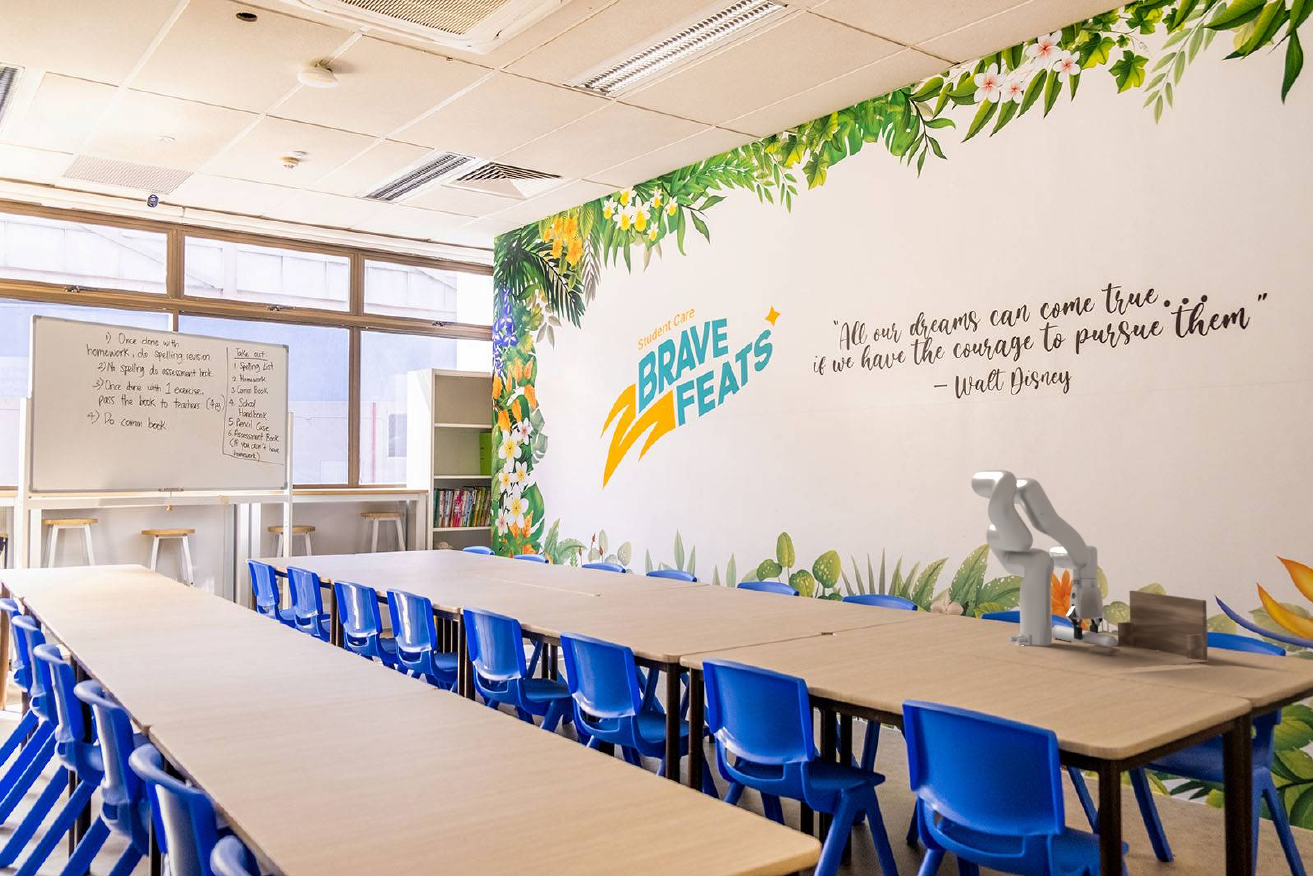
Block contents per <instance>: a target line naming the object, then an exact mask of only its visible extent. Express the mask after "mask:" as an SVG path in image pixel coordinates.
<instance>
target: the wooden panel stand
mask: <svg viewBox="0 0 1313 876" xmlns="http://www.w3.org/2000/svg"><path fill="white" fill-rule="evenodd" d="M1207 615H1208V614H1207V600H1205V599H1197V598H1190V597H1182V596H1176V595H1168V594H1160V593H1153V592H1146V591H1139V590H1129V621H1125V622H1122V621H1121V622H1117V641H1118V645H1126V646H1132V647H1136V646H1138V647H1137V648H1141V647H1142V649H1146V648H1147V649H1146V650H1152V651H1156V650H1159V651H1158V652H1161V651H1162V652H1161V653H1167V654H1172V655H1177V656H1183V657H1186V658H1187V659H1197V660H1201V661H1207V660H1208V628H1207V627H1208V626H1207V625H1208V623H1207V622H1208V620H1207V617H1208V616H1207Z"/></svg>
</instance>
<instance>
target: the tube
mask: <svg viewBox="0 0 1313 876" xmlns="http://www.w3.org/2000/svg"><path fill="white" fill-rule="evenodd" d="M1054 638H1057V639H1056V640H1058V639H1061V640H1060V641H1063V640H1065V641H1064V642H1068V641H1073V642H1072V643H1081V642H1085V643H1090V644H1094V645H1095V644H1096V645H1102V646H1107V647H1118V646H1119V645H1120V644H1118V638H1116V637H1115V636H1113V635H1109V634H1105V633H1100V632H1098V633H1095V632H1090V630H1089V631H1088V630H1083V629H1082V640H1079V639H1074V627H1069V626H1064V625H1062V624H1055V625H1054V626H1053V628H1052V639H1054Z"/></svg>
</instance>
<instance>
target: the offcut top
mask: <svg viewBox="0 0 1313 876" xmlns="http://www.w3.org/2000/svg"><path fill="white" fill-rule="evenodd" d="M1088 652H1090V653H1089V654H1092V653H1094V654H1093V655H1096V654H1099V655H1098V656H1101V655H1104V656H1103V657H1105V656H1108V657H1107V658H1109V657H1110V658H1112V657H1111V656H1121V653H1120V652H1121V651H1120V648H1117V647H1113V646H1104V645H1099V644H1096V645H1095V644H1094V645H1089V646H1088Z"/></svg>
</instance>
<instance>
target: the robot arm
mask: <svg viewBox="0 0 1313 876" xmlns="http://www.w3.org/2000/svg"><path fill="white" fill-rule="evenodd" d="M970 482H971V485H970V486H971V488H972V490H973V492H974V493H975V494H976V495H978V496H980V497H982V498H986V499H989V501H988V507H987V508H988V509H987V516H988V518H989V520H990V522H991V524H990V525H989V526H988V527H987V530H986V534H985V535H986V536H985V537H986V542H987V545H988V546H989V548H990V551H992V553H993V554H994V556H995V558H996V559H997V560H998V562H999V563H1000V565H1001V566H1002V567H1003V569H1004V570H1005V571H1006V572H1007V573H1008V574H1010V575H1013V576H1016V577H1023V578H1022V581H1021V584H1020V587H1019V626H1020V627H1019V628H1020V629H1019V632H1017V634H1016V635H1009V636H1008V637H1007V641H1008V643H1015V644H1014V645H1015V647H1022V646H1029V647H1030V646H1035V647H1036V646H1039V647H1047V646H1052V645H1053V644H1055V643H1054V642H1053V637H1052V630H1053V628H1052V627H1053V626H1052V625H1053V624H1052V623H1053V622H1052V616H1053V615H1052V611H1053V610H1052V583H1053V582H1052V581H1053V576H1054V570H1055V567H1056V568H1059V569H1060V568H1061V569H1065V570H1066V569H1069V570H1072V579H1071V581H1070V583H1071V585H1072V587H1071V591H1070V595H1069V610H1068V612H1067V613H1066V614H1065V618H1066V619H1067V620H1068V622H1069V623H1070V625H1071V626H1072V627H1073V628H1074V639H1079V640H1082V630H1083V627H1082V622H1083V620H1088V619H1089V621H1090V622H1089V623H1090V624H1091V625H1089V631H1090V632H1095V633H1099V627H1100V626H1101V623H1102V622H1103V619H1104V618H1105V617H1106V613H1105V611H1104V604H1103V595H1102V591H1101V588H1100V587H1099V583H1098V582H1099V581H1098V579H1099V576H1098V571H1099V569H1098V549H1097V547H1096V546H1093V545H1087V544H1086V542H1085V541H1084V538H1083V537H1082V535H1081V534H1080V533H1079V532H1078V531H1077V530H1076V528H1074V527H1073V526H1072V525H1070V524H1069V523H1068V522H1067V521H1066V520H1065V519H1063V518H1062V517H1061V516H1060V515H1059V514H1058V513H1057V511H1056V509H1055V508H1054V505H1052V503H1051V501H1050V499H1049V497H1048V496H1047V494H1046V491H1045V490H1044V488H1043V486H1042V485H1041V484H1040V482H1039V481H1038V480H1036V479H1035V478H1030V477H1016V475H1015V474H1014V473H1013V472H1011V471H1009V470H1006V469H1005V470H1004V469H992V470H991V469H989V470H986V469H985V470H980V471H979V470H978V471H977V472H976V473H974V475H973V476H972V478H971V481H970ZM1015 504H1019V505H1020V506H1021V509H1023V512H1024V514H1025V515H1026V516H1027V519H1028V520H1029V522H1030V524H1031V526H1032V527H1033V528H1034V529H1036V530H1037V531H1038V532H1040V533H1041V534H1043V535H1045V536H1048V537H1050V538H1052V539H1053V540H1055V542H1057V543H1058V544H1057V545H1053V546H1052V547H1051V548H1050V549H1048V551H1046V550H1044V549H1042V548H1036V547H1035V548H1034V547H1032V546H1033V543H1034V536H1033V535H1032V532H1031V530H1030V529H1029V527H1028V526H1027V525H1026V523H1025V521H1024V520H1023V519H1022V516H1020V514H1019V512H1018V511H1017V508H1016V507H1015Z"/></svg>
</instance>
